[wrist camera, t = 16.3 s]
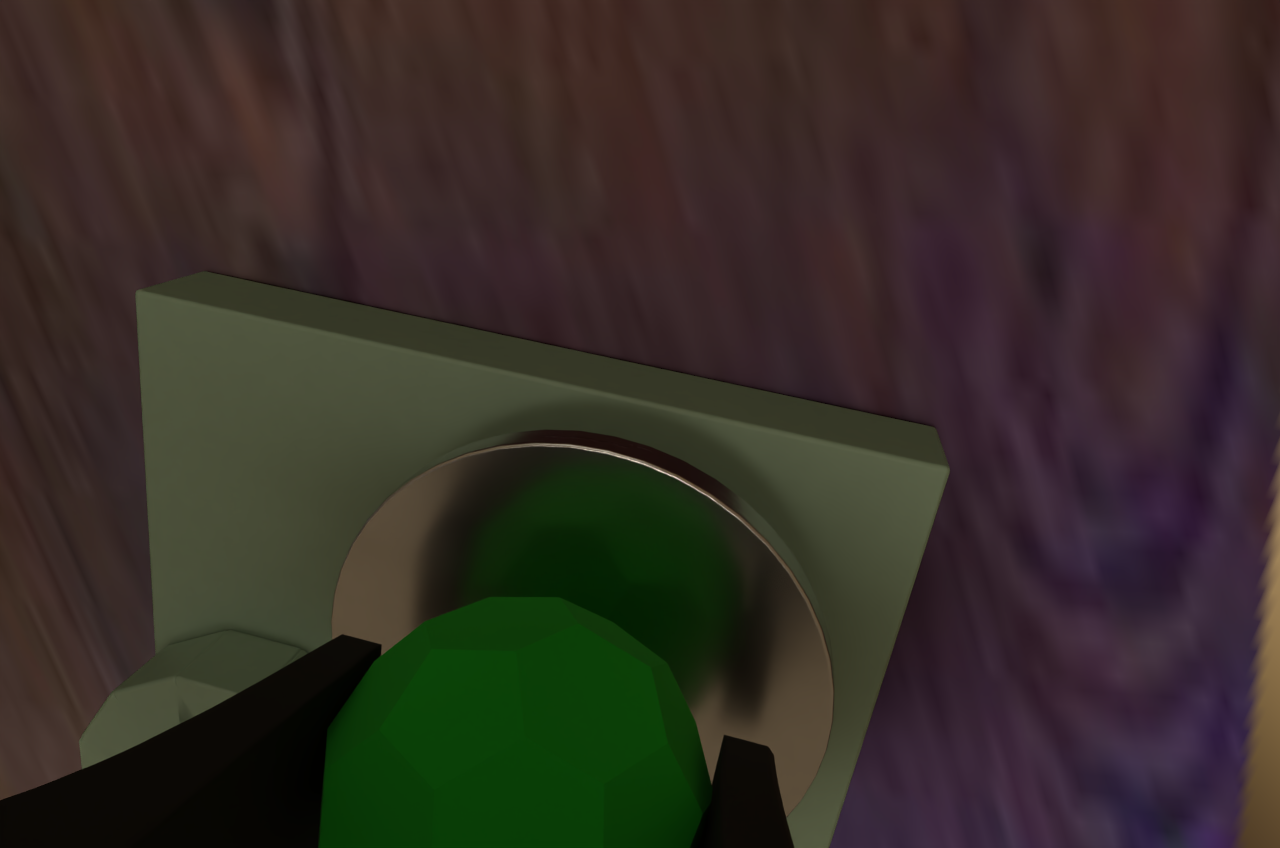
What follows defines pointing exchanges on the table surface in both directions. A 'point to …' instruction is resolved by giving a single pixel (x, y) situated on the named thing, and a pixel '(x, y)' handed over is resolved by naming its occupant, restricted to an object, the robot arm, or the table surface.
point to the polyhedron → (515, 738)
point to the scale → (431, 427)
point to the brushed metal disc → (611, 576)
